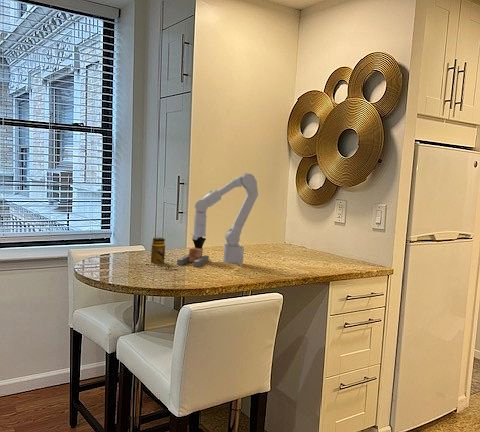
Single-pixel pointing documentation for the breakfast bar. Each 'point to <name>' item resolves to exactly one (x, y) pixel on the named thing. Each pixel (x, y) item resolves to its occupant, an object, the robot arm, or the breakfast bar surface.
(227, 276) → the breakfast bar surface
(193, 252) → the block
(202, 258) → the chute
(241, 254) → the robot arm
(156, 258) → the condiment
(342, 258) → the breakfast bar surface
